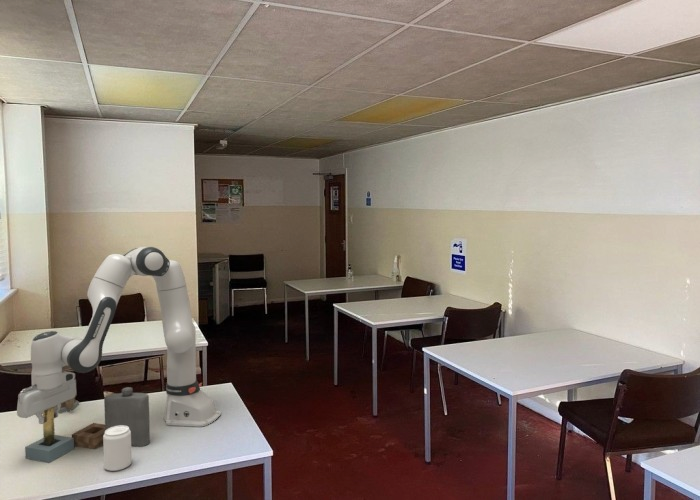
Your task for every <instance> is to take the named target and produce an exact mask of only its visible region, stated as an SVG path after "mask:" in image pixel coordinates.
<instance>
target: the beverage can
mask: <svg viewBox="0 0 700 500" xmlns="http://www.w3.org/2000/svg"><path fill="white" fill-rule="evenodd" d="M102 446H103V468H104V469H105V470H107V471H111V472H113V471H114V472H117V471H121V470H124V469H126V468H128V467H129V466H130V465H131V464H132V462H133V461H132V460H133V459H132V446H131V431H130V429H129V427H128V426H124V425H119V426H114V427H111V428H108V429H107V430H106V431H105V434H104V435H103V445H102Z"/></svg>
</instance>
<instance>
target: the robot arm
mask: <svg viewBox="0 0 700 500" xmlns="http://www.w3.org/2000/svg"><path fill="white" fill-rule="evenodd" d="M134 275H136V276H142V277H146V276H147V277H148V276H149V277H152V278H153V279H154V282H155V285H156V292H157V296H158V301H159V302H158V303H159V307H160V314H161V322H162V323H161V324H162V330H163V337H164V341H165V345H166V379H167V380H166V381H167V382H166V383H165V391H166V405H165V410H164V415H163V420H164V421H165V425H166V426H179V427H180V426H181V427H202V428H203V427H205V426H209V425H211V424H212V422H213V421H214V422H216V421H217V420H218V419H219V418H220V417H221V416H222V411H220V410H217V409H216V407H215V402H214V400H213V398H211V397H210V396H208V395H207V394H206V393H205V392H203V390H201V388H200V387H201V386H203V385H202V384H203V382H200V383H199V382H198V380H197V368H196V367H197V365H196V364H197V361H196V360H197V358H196V357H197V356H196V351H197V350H196V349H197V347H196V346H197V344H196V343H197V342H196V339H197V336H196V335H197V334H196V326H195V324H194V323H193V318H192V311H191V304H190V303H191V302H190V299H189V293H188V287H187V283H186V282H187V281H186V278H185V275H184V272H183V268H182V266H181V264H180V263H179V262H178V261H177V260H174V259H169V258H168V257H167V256H166V255H165V254H164V252H162V250H160V249H159V248H157V247H154V246H140V247H137V248H136V247H135V248H133V249H130V250H129V251H127V252H126V253H124V254H119V253H112V254H109V255H107V256H106V258H104V260H103V261H102V263H101V264H100V265H99V267H98V268H97V270H96V272H95V274H94V276H93V277H92V279H91V280H90V284H89V286H88V288H87V293H86V295H87V298H88V301H89V303H90V304H91V305H90V306H91V308H92V315H91V316H92V317H91V319H90V322H89V324H88V325H87V326H88V327H87V329H86V331H85V333H84V336H83V338H82V337H77V336H71V335H70V336H69V335H65V334H63V333H60V332H58V331H57V330H56V331H55V330H51V331H45V332H42V333H39V334H37V335H36V336H34V337H33V339H32V341H31V345H30V362H31V367H32V368H31V372H30V373H31V386H29V387H25V388H23V389H22V390H21V391H20V392H19V393H18V396H17V398H18V399H17V406H16V415H17V416H18V418H22V419H27V418H30V417H33V416H36V418H37V419H38V424H39V425H43V423H45V422H47V420H46V419H47V418H46V417H43V414H44V410H47V409H49V408H51V407H54V419H56V418H59V414H58V412H59V410H60V407H61V403H63V402H65V401H68V400H70V399H72V398H74V397H75V398H76V396H77V395H76V392H77V381H76V382H75V380H74V379H76V373H79V374H86V373H88V372H91V371H93V370H95V369H96V368H97V367H98V366H99V364H100V363H101V362H102V358H103V346H104V342H105V339H106V338H107V337H106V336H107V335H108V331H109V330H110V326H111V324H112V322H113V319H114V317H115V313H116V310H117V306H118V303H119V302H120V301H119V300H121V299H120V298H121V296H122V294H123V292H124V290H125V288H126V286H127V283H128V281H129V280H130V279H131V277H132V276H134ZM63 367H70V369H71V370H72V371H74V372H76V373H74V372H71V371H63ZM75 395H76V396H75ZM220 415H221V416H220ZM219 416H220V417H219ZM218 417H219V418H218ZM217 418H218V419H217ZM216 419H217V420H216ZM215 420H216V421H215ZM214 422H213V423H214ZM210 423H211V424H210ZM208 424H209V425H208Z"/></svg>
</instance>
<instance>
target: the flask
mask: <svg viewBox="0 0 700 500" xmlns="http://www.w3.org/2000/svg"><path fill="white" fill-rule="evenodd" d="M133 391H134V390H133V387H131V386H130V387H129V386H126V387H123V388H122V389H121V392H119V393H112V394H107V395H106V396H104V397H103V399H104V400H103V402H104V406H103V407H104V424H105V431H106V430H107V429H108V428H111V427H114V426H119V425H124V426H128V427H129V429H130V431H131V447H139V448H140V447H145V446H147V445H149V444H150V443H151V436H150V435H151V433H150V399H149V398H150V397H149V396H150V395H149V394H148V393H144V392H133Z"/></svg>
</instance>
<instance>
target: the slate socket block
mask: <svg viewBox="0 0 700 500" xmlns="http://www.w3.org/2000/svg"><path fill="white" fill-rule="evenodd" d="M73 450H75V446H74V438H72V436H66V435H57V434H55V442H53V443H51V444H44V437H42V438H41V439H39V440H37V441H35V442H32V443H30V444H28V445H26V446H25V447H24V455H25V457H24V458H25V459H26V460H31V461H37V462H41V463H48V464H50V463H52V462H53V461H56V460H57V459H58V458H59V459H60V458H62V457H63V456H64V455H66V454H68V453H70V452H71V451H73Z"/></svg>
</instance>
